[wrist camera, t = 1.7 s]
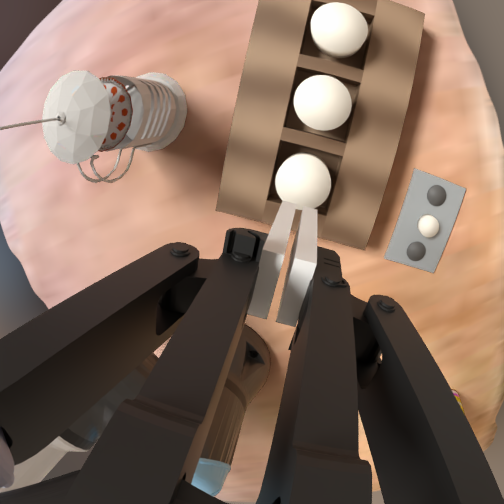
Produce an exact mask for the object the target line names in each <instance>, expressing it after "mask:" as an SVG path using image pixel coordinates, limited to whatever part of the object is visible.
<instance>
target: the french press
mask: <svg viewBox="0 0 504 504" xmlns="http://www.w3.org/2000/svg"><path fill="white" fill-rule="evenodd" d="M186 115H187V104H186V98H185V94H184V92H183V91H182V89H181V87H180V86H179V84H178V82H177V81H175V80H174V79H172V78H171V77H169V76H167V75H166V74H162V73H153V72H150V73H147V74H144V75H141V76H138V77H136V78H134V77H127V76H108V77H106V78H104V77H102V78H97V77H96V76H94V75H93V74H92V73H90V72H89V71H72V72H70V73H68V74H65V75H63V76H62V77H61V78H60V79H59V80H58V81H57V82H56V83H55V84H54V86H53V87H52V88H51V90H50V92H49V94H48V96H47V99H46V101H45V103H44V109H43V117H42V120H38V121H31V122H25V123H19V124H14V125H8V126H3V127H0V130H3V129H8V128H13V127H18V126H24V125H30V124H36V123H42V125H43V133H44V138H45V140H46V142H47V145H48V147H49V149H50V151H51V152H52V153H53V154H54V155H55V156H56V157H57V158H58V159H59V160H60V161H63V162H67V163H71V164H76V163H77V166H78V168H79V171H80V173H81V174H82V175H83V177H84V178H85V179H86V180H89V181H91V182H95V183H98V182H100V181H104V182H108V183H113V182H115V181H117V180H119V179H121V178H122V177H123V176H124V174H125V173H126V172H127V171H128V169H129V167H130V165H131V162H132V158H133V154H134V150H135V149H139V150H144V151H148V152H150V151H155V150H159V149H163V148H165V147H166V146H167V145H169V144H170V143H172V142H173V141H174V140H175V139H176V138H177V136H178V135H179V133H180V132H181V130H182V129H183V127H184V124H185V119H186ZM129 147H133V149H132V153H131V156H130V160H129V163H128V166H127V168H126V170H125V171H124V173H123V174H122V175H120V176H119V177H118V178H115V179H113V180H106V179H107V178H108V177H109V176H110V175H111V174H112V173H113V172H114V171H115V169H116V167H117V165H118V163H119V159H120V155H121V151H122V149H125V148H129ZM115 149H120V151H119V154H118V158H117V161H116V164H115V166H114V169H113V170H112V171H111V172H110V173H109V174H108V175H107V176H106V177H104V178H102V177H101V176H100V175H99V174H98V173H97V172H96V170H95V168H94V165H93V161H94V159H97V158H98V157H99V156H98V155H93V154H95V153H96V152H97V151H101V152H102V151H111V150H115ZM89 158H92V159H91V161H90V165H91V167H92V170H93V172H94V174H95V175H96V176H97V177H98V178H99V180H95V179H91V178H89V177H87V176H86V175H85V174H84V173H83V172H82V169H81V167H80V164H79V162H83V161H86V160H88V159H89Z"/></svg>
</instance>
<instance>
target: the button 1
mask: <svg viewBox="0 0 504 504" xmlns="http://www.w3.org/2000/svg"><path fill="white" fill-rule="evenodd" d="M275 185H276V190H277V193H278V195H279V197H280V198H281V200H282V201H287V202H291V203H295V204H297V205H296V209H298V210H302V209H303V206H306V207H310V208H313V209H314V208H316V207H318V206H319V205H321V204H322V203H323V202H324V201H325V200H326V198H327V197H328V195H329V193H330V189H331V178H330V174H329V170H328V167H327V165H326V164H325V162H324V161H323V160H322V159H321V158H320V157H318V156H317V155H315V154H312V153H308V152H300V153H296V154H293V155H291V156H290V157H288V158H287V159H286V160H285V161H284V163H283V164H282V165H281V167H280V168H279V170H278V172H277V175H276V179H275Z"/></svg>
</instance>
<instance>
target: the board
mask: <svg viewBox="0 0 504 504" xmlns="http://www.w3.org/2000/svg"><path fill="white" fill-rule="evenodd" d="M334 2H338V3H344V4H348V5H350V6H352V7H354V8H355V9H357V10H358V11H359V12H360V13H361V14H362V15H363V17H364V18H365V20H366V22H367V26H368V34H367V37H366V40H365V41H364V43H363V44H362V46H361V48H360V49H359V50H358V51H357V52H356V53H355V54H354V55H352V56H350V57H346V58H334V57H330V56H328V55H326V54H324V53H322V52H321V51H320V50H319V49H318V48H317V47H316V46H315V44H314V42H313V40H312V35H311V19H312V16H313V14H314V12H315V11H316V10H317V9H318V8H319V7H321V6H323V5H325V4H328V3H334ZM424 17H425V13H422V12H420V11H417V10H415V9H412V8H409V7H407V6H404V5H401V4H399V3H396V2H393V1H390V0H259V2H258V6H257V11H256V15H255V19H254V23H253V27H252V32H251V36H250V40H249V45H248V49H247V53H246V58H245V62H244V67H243V72H242V76H241V81H240V86H239V90H238V95H237V100H236V105H235V110H234V115H233V120H232V125H231V130H230V135H229V140H228V145H227V151H226V156H225V161H224V167H223V172H222V178H221V184H220V189H219V195H218V201H217V207H216V211H219V212H223V213H227V214H231V215H235V216H239V217H243V218H247V219H251V220H255V221H259V222H262V223H266V224H270V225H273V223H274V220H275V218H276V215H277V213H278V211H279V208H280V206H281V203H282V200H281V198H280V197H279V195H278V193H277V190H276V185H275V179H276V175H277V172H278V170H279V168H280V167H281V165H282V164H283V163H284V161H285V160H286V159H287V158H288V157H290V156H291V155H293V154H296V153H300V152H308V153H312V154H315V155H317V156H318V157H320V158H321V159H322V160H323V161H324V162H325V164H326V165H327V167H328V170H329V174H330V178H331V189H330V193H329V195H328V197H327V198H326V200H325V201H324V202H323V203H322V204H321V205H319V206H318V207H316V208H314V209H317V237H319V238H322V239H326V240H330V241H333V242H337V243H340V244H344V245H348V246H351V247H355V248H358V249H362V250H365V248H366V246H367V243H368V240H369V237H370V234H371V231H372V229H373V226H374V223H375V220H376V217H377V214H378V211H379V208H380V205H381V201H382V198H383V195H384V192H385V189H386V185H387V182H388V179H389V175H390V172H391V169H392V165H393V162H394V158H395V155H396V151H397V147H398V144H399V140H400V136H401V132H402V128H403V124H404V120H405V116H406V112H407V108H408V103H409V99H410V94H411V90H412V85H413V80H414V75H415V70H416V65H417V60H418V54H419V49H420V43H421V37H422V30H423V24H424ZM316 75H326V76H330V77H333V78H335V79H337V80H339V81H340V82H341V83H342V84H343V85H344V86H345V87H346V88H347V90H348V92H349V94H350V97H351V102H352V107H351V112H350V115H349V117H348V118H347V120H346V121H345V122H344V123H343V124H342V125H341V126H339V127H337V128H335V129H332V130H325V131H323V130H316V129H313V128H311V127H309V126H307V125H306V124H305V123H303V122H302V121H301V120H300V118H299V117H298V115H297V113H296V111H295V108H294V95H295V92H296V90H297V88H298V86H299V85H300V84H301V83H302V82H303V81H304V80H306V79H307V78H309V77H312V76H316ZM301 213H302V210H298V209H295V214H294V218H293V222H292V226H291V230H293V231H297V228H298V224H299V221H300V217H301Z"/></svg>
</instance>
